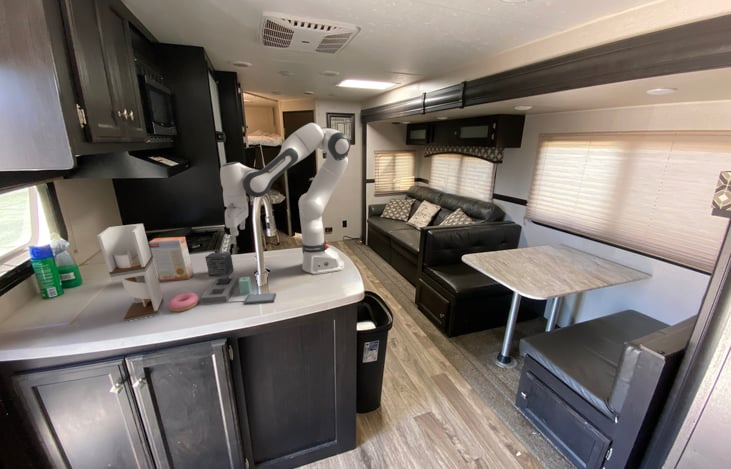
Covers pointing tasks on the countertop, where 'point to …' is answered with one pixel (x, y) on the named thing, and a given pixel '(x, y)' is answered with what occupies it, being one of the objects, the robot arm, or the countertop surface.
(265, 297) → the spatula
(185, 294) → the doughnut
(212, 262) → the small box
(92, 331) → the countertop surface
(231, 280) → the gray block with holes
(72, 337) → the countertop surface
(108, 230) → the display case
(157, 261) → the cracker box
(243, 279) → the block
